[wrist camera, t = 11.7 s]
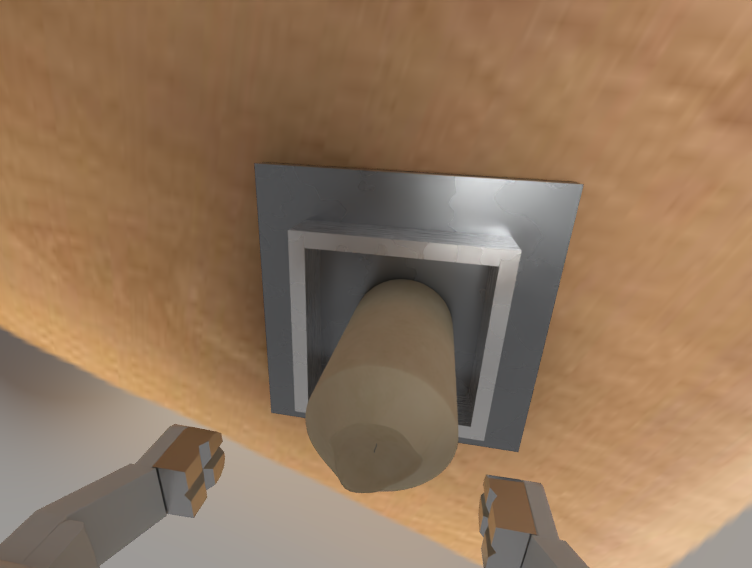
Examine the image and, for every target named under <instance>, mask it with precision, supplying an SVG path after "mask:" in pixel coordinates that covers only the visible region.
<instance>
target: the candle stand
mask: <svg viewBox="0 0 752 568" xmlns="http://www.w3.org/2000/svg"><path fill="white" fill-rule="evenodd" d="M254 164H255V179H256V194H257V208H258V223H259V238H260V252H261V267H262V282H263V296H264V311H265V326H266V340H267V355H268V370H269V384H270V399H271V413H277V414H283V415H289V416H296V417H302V418H306V416H305V415H306V408H307V404H308V401H309V399H310V397H311V395H312V393H313V391H314V389H315V387H316V385H317V383H318V381H319V379H320V377H321V375H322V373H323V371H324V369H325V367H326V365H327V364H328V362H329V360H330V358H331V356H332V354H333V352H334V350H335V348H336V346H337V344H338V342H339V340H340V338H341V336H342V335H343V333H344V331H345V329H346V327H347V325H348V323H349V321H350V319H351V317H352V315H353V313H354V311H355V309H356V308H357V306H358V304H359V302H360V301H361V299H362V298H363V297H364V296H365V294H366V293H367V292H369V291H370V290H371V289H372V288H374V287H375V286H377V285H379V284H381V283H383V282H386V281H389V280H395V279H407V280H413V281H417V282H420V283H423V284H425V285H427V286H428V287H430V288H431V289H433V290H434V291H435V292H437V293H438V294H439V295H440V296H441V298H442V299H443V300H444V302H445V303H446V305H447V307H448V309H449V311H450V314H451V317H452V323H453V335H454V354H455V374H456V393H457V412H458V443H464V444H471V445H477V446H483V447H489V448H496V449H502V450H508V451H514V452H518V451H519V447H520V443H521V439H522V435H523V431H524V426H525V422H526V418H527V414H528V410H529V406H530V402H531V398H532V394H533V390H534V385H535V381H536V377H537V373H538V369H539V365H540V361H541V357H542V353H543V349H544V344H545V340H546V336H547V332H548V328H549V324H550V320H551V316H552V312H553V308H554V304H555V299H556V295H557V291H558V287H559V283H560V279H561V275H562V271H563V267H564V263H565V258H566V254H567V250H568V246H569V242H570V238H571V234H572V230H573V226H574V222H575V217H576V213H577V209H578V205H579V201H580V197H581V193H582V189H583V185H584V184H580V183H577V182H570V181H555V180H539V179H523V178H507V177H491V176H476V175H460V174H444V173H428V172H413V171H397V170H381V169H365V168H350V167H334V166H318V165H302V164H286V163H271V162H262V163H254Z"/></svg>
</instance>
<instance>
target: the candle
mask: <svg viewBox="0 0 752 568" xmlns="http://www.w3.org/2000/svg"><path fill="white" fill-rule="evenodd" d="M305 416H306V427H307V432H308V435H309V438H310V440H311V442H312V444H313V446H314V448H315V449H316V451H317V452H318V454H319V455H320V456H321V458H322V459H323V460H324V461H325V463H326V464H327V465H328V466H329V467H330V468H331V470H332V471H333V472H334V473H335V474H336V476H337V477H338V478H339V480H340V482H341V484H342V485H343V486H344V488H345V489H347V490H349V491H351V492H355V493H372V492H378V491H398V490H404V489H409V488H413V487H416V486H418V485H421V484H423V483H425V482H427V481H429V480H431V479H433V478H435V477H436V476H437V475H439V474H440V473H441V472H442V471H443V470H444V469H446V467H447V466H448V465H449V464H450V462H451V460H452V459H453V457H454V455H455V452H456V449H457V445H458V412H457V393H456V374H455V354H454V335H453V323H452V317H451V314H450V311H449V309H448V307H447V305H446V303H445V302H444V300H443V299H442V298H441V296H440V295H439V294H438V293H437V292H435V291H434V290H433V289H431V288H430V287H428V286H427V285H425V284H423V283H420V282H417V281H413V280H407V279H395V280H389V281H386V282H383V283H381V284H379V285H377V286H375V287H374V288H372V289H371V290H370V291H369V292H367V293H366V294H365V296H364V297H363V298H362V299H361V301H360V302H359V304H358V306H357V308H356V309H355V311H354V313H353V315H352V317H351V319H350V321H349V323H348V325H347V327H346V329H345V331H344V333H343V335H342V336H341V338H340V340H339V342H338V344H337V346H336V348H335V350H334V352H333V354H332V356H331V358H330V360H329V362H328V364H327V365H326V367H325V369H324V371H323V373H322V375H321V377H320V379H319V381H318V383H317V385H316V387H315V389H314V391H313V393H312V395H311V397H310V399H309V401H308V404H307V408H306V415H305Z"/></svg>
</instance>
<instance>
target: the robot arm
mask: <svg viewBox="0 0 752 568" xmlns="http://www.w3.org/2000/svg"><path fill="white" fill-rule="evenodd" d="M222 442H223V441H222V435H221V433H219V432H216V431H210V430H205V429H200V428H195V427H188V426H182V425H177V424H174V425H172V426H170V427H169V428H168V429H167V430H166V431H165V432H164V433H163V435H161V437H160V438H159V439H158V440H157V441H156V442H155V443H154V444H153V445H152V446H151V447H150V448H149V449H148V451H147V452H146V453H145V454H144V455H143V456H142V457H141V458H140V459H139V460H138V462H136V464H129V465H127V466H125V467H123V468H121V469H119V470H117V471H115V472H113V473H111V474H109V475H107V476H105V477H103V478H101V479H99V480H97V481H95V482H93V483H91V484H89V485H87V486H85V487H83V488H81V489H79V490H77V491H75V492H73V493H71V494H69V495H67V496H65V497H63V498H61V499H59V500H57V501H55V502H53V503H51V504H49V505H47V506H45V507H43V508H41V509H39V510H37V511H35V512H34V513H33V514H32V515H31V516H30V517H29V518H28V519H27V520H26V521H25V522H24V523H22V524H21V525H20V526H19V527H18V528H17V529H16V530H15V531H14V532H13V533H12V534H11V535H10V536H9V537H8V538H6V539H5V540H4V541H3V542H2V543H1V544H0V568H100V567H99V566H100V565H101V564H103V563H104V562H105V561H107V560H108V559H109V558H111V557H112V556H113V555H114V554H116V553H117V552H119V551H120V550H121V549H123V548H124V547H125V546H127V545H128V544H129V543H131V542H132V541H133V540H135V539H136V538H137V537H138V536H140V535H141V534H142V533H144V532H145V531H147V530H148V529H149V528H151V527H152V526H153V525H154V524H155V523H157V522H159V521H160V520H161V519H163V518H164V517H165V516H166V514H172V515H179V516H185V517H191V518H194V517H195V515H196V514H197V512H198V511H199V509H200V508H201V506H202V505H203V503H204V501H205V500H206V498H207V492H206V490H207V489H209V488H210V487H212V486H214V485H215V484H216V483H217V481H218V479H219V478H220V476H221V473H222V470H223V468H224V461H225V455H224V452H223V450H222V449H221V448H220V447H219V446H220V444H221V443H222ZM483 486H484V493H483V494H482V495H481V497H480V502H479V530H480V533H481V534H482V536H483V537H484V539H483V543H482V548H481V549H482V558H483V567H484V568H589V567H588V566H587V565H586V563H585V562H584V561H583V560H582V559H581V558H580V557H579V556H578V555H577V553H576V552H575V551H574V550H573V549H572V548H571V547H570V546H569V544H568V543H567V542H566V541H563V540H559V536H558V533H557V530H556V527H555V523H554V520H553V517H552V514H551V510H550V507H549V504H548V500H547V497H546V494H545V491H544V487H543V486H542V484H541V483H537V482H531V481H524V480H522V481H521V480H519V479H512V478H505V477H498V476H492V475H486V476H485V479H484V483H483Z"/></svg>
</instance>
